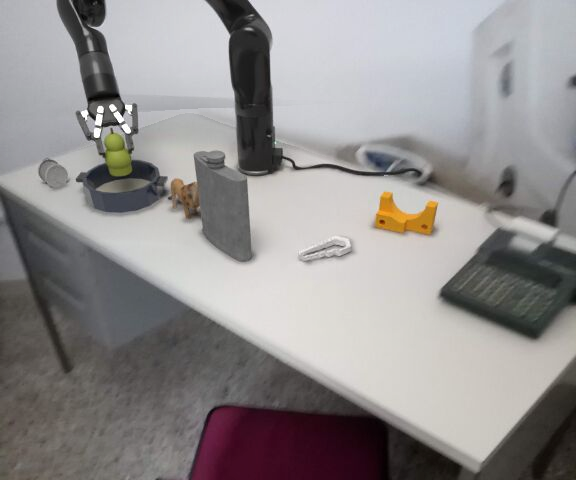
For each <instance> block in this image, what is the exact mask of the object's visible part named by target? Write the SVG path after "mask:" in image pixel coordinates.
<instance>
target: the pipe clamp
mask: <svg viewBox="0 0 576 480" xmlns="http://www.w3.org/2000/svg"><path fill="white" fill-rule="evenodd" d="M393 194H394V193H393V192H390V191H385V190H384V191H383V192H382V194H381V195H380V196H379V204H378V211H377V212H376V214H375V223H374V228H377V229H382V230H386V231H390V232H396V233H399V234H404V233H405V231H410V232H414V233H418V234H419V233H420V234H423V235H428V236H430V235H431V234H432V232H433V231H434V226H435V221H436V215H437V210H438V205H439V202H438V201H433V200H428V202H427V203H426V205H425V207H424V209H423V210H421V211H420V212H418V213H407V212H404V211H403V210H401V209H400V208H399V207H397V205H396V202H395V201H394V198H393V197H394V196H393ZM431 229H432V230H431ZM429 230H430V231H429Z"/></svg>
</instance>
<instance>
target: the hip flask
mask: <svg viewBox="0 0 576 480" xmlns="http://www.w3.org/2000/svg"><path fill="white" fill-rule="evenodd" d="M225 160H226V153H225V152H224V151H222V150H211V151H206V150H199V151H196V152H194V153H193V162H194V169H195V178H196V182H197V187H198V195H199V203H200V206H199V209H200V218H201V227H202V233H203V235H204V236H205V238H206V239H207V240H208V241H209V242H210V243H211V244H212V245H213V246H214V247H216V248H217V249H218V250H220V251H221V252H222V253H225V254H226V255H227V256H228V257H229V256H230V257H231V258H233V259H235V260H237V261H240V262H249V261H250V260H252V258H253V254H252V251H253V250H252V237H251V236H252V235H251V219H250V203H249V187H248V185H249V184H248V176H247V174H244V173H242V172H241V171H237V170H236V169H233V168H231V167H229V166H227V165H226V163H225V162H226V161H225Z"/></svg>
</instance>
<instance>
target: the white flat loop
mask: <svg viewBox="0 0 576 480" xmlns="http://www.w3.org/2000/svg"><path fill="white" fill-rule="evenodd" d="M333 245H335V246H341V248H340V249H336V248H332V249H330V250H328V251H326V250H323V251H321V252H319V251H320V250H322V249H324V248H325V249H327V248H329V247H332V246H333ZM351 250H352V245H351V242H350V239H349V238H347V237H343V236H338V235H334V236H330V237H328V238H326V239H323V240H321V241H319V242H316V243H315V244H311V245H310V246H307V247H305V248H303V249H300V250H298V258H299V259H302V260H308V259H312V258H313V259H314V258H322V257H329V258H330V257H332V256H338V257H342V256H343V255H346V254H349V253H350V252H351ZM316 251H318V252H316ZM314 252H315V253H314ZM309 253H310V254H309Z"/></svg>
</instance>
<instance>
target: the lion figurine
mask: <svg viewBox="0 0 576 480" xmlns="http://www.w3.org/2000/svg"><path fill="white" fill-rule="evenodd" d="M170 194H171V195H169V196H168V197H167V199H168V200H171V199H172V209H173V210H177V209H178V206H177V202H176V201H179V202H181V203H182V205H183V209H184V214H185V218H186V220H191V219H192V216H191V214H190V209H192V213H193V215H196V216H199V215H201V212H198V208H200V203H199V195H198V187H197V181H192V182H190V183H187V184H185V183H184V181H183V179H181V178H178V177H177V178H176V177H175V178H173V179H172V180H171V181H170ZM176 198H177V200H176Z"/></svg>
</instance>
